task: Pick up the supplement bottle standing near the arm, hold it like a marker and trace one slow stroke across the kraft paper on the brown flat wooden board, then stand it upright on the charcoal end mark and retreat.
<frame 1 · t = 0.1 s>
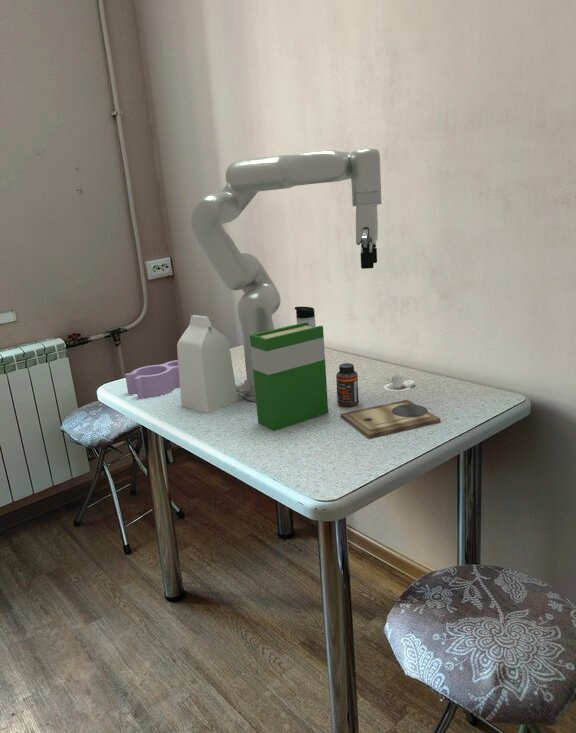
hand: (369, 265, 164), 37 cm above the table, tool pointing down, fingers open, 9 cm apart
supplement bottle: (348, 404, 171), on the table
hardback book: (293, 418, 164), on the table
teacup and saucer: (404, 391, 179), on the table
brown flat wooden board: (389, 419, 157), on the table
milk: (209, 403, 180), on the table
travel mug: (308, 364, 210), on the table
clip: (161, 389, 197), on the table
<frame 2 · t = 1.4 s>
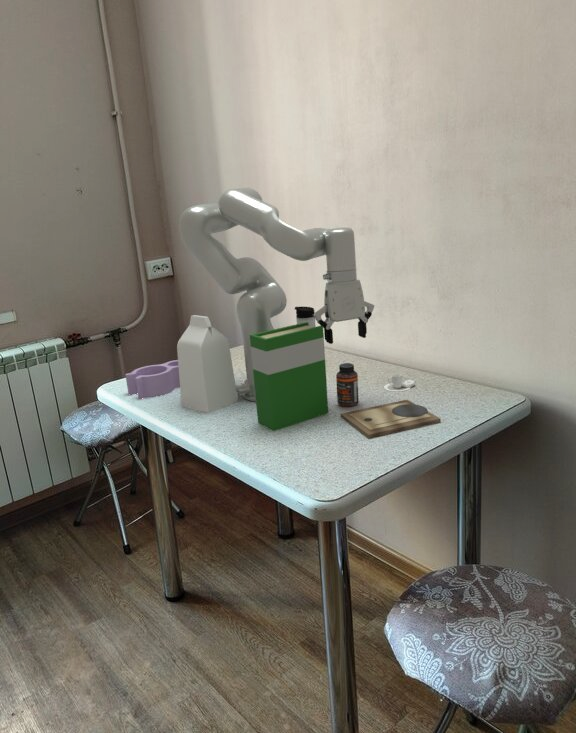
hand: (346, 339, 165), 18 cm above the table, tool pointing down, fingers open, 9 cm apart
nothing on the table moved.
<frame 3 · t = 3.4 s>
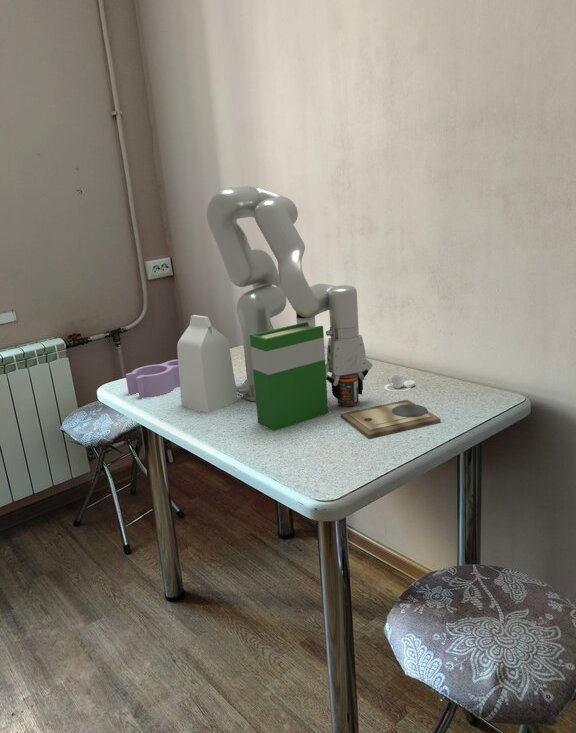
hand: (347, 394, 170), 3 cm above the table, tool pointing down, fingers closed on supplement bottle, 6 cm apart
supplement bottle: (348, 404, 171), on the table, touching gripper
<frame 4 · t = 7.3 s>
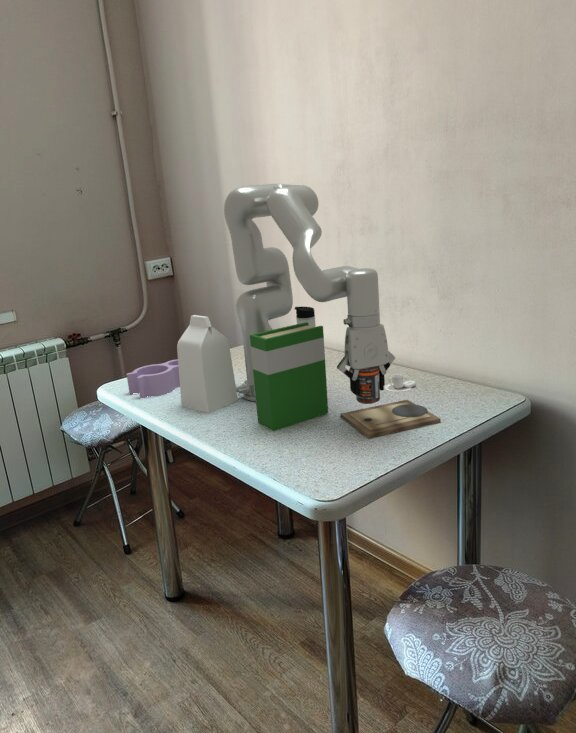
hand: (367, 390, 153), 9 cm above the table, tool pointing down, fingers closed on supplement bottle, 6 cm apart
supplement bottle: (368, 401, 154), point 6 cm above the table, touching gripper
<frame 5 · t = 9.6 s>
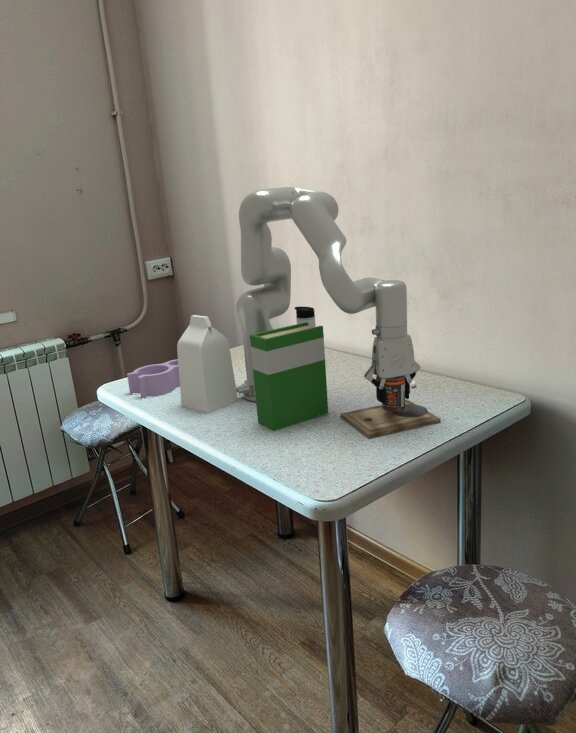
hand: (393, 399, 156), 5 cm above the table, tool pointing down, fingers closed on supplement bottle, 6 cm apart
supplement bottle: (393, 409, 157), point 2 cm above the table, touching gripper
everything else where it was.
when the fingers open (4 cm above the table, at t = 11.6 s): supplement bottle stays where it is, resting on brown flat wooden board.
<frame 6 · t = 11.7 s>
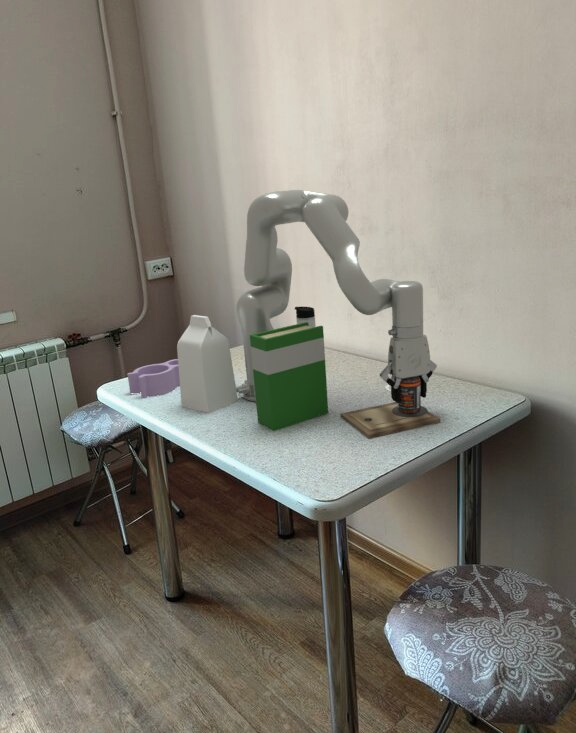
hand: (409, 398, 158), 5 cm above the table, tool pointing down, fingers open, 6 cm apart
supplement bottle: (409, 410, 159), point 1 cm above the table, touching brown flat wooden board
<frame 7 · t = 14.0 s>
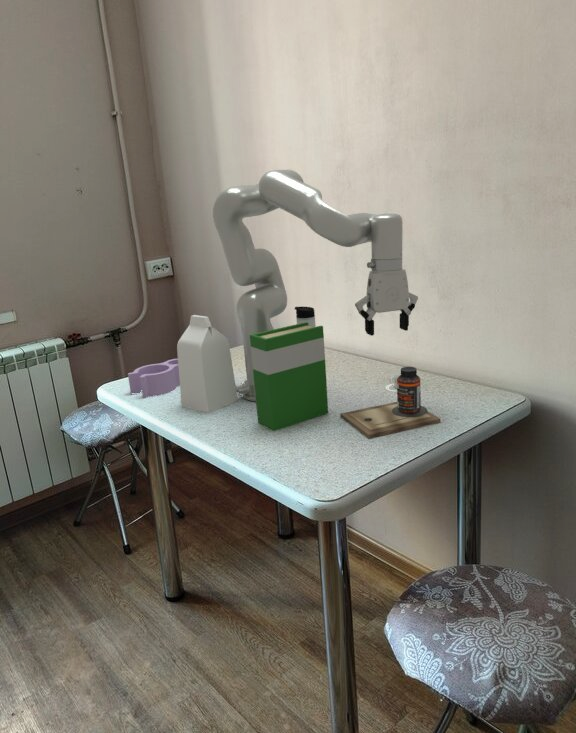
hand: (387, 331, 158), 21 cm above the table, tool pointing down, fingers open, 9 cm apart
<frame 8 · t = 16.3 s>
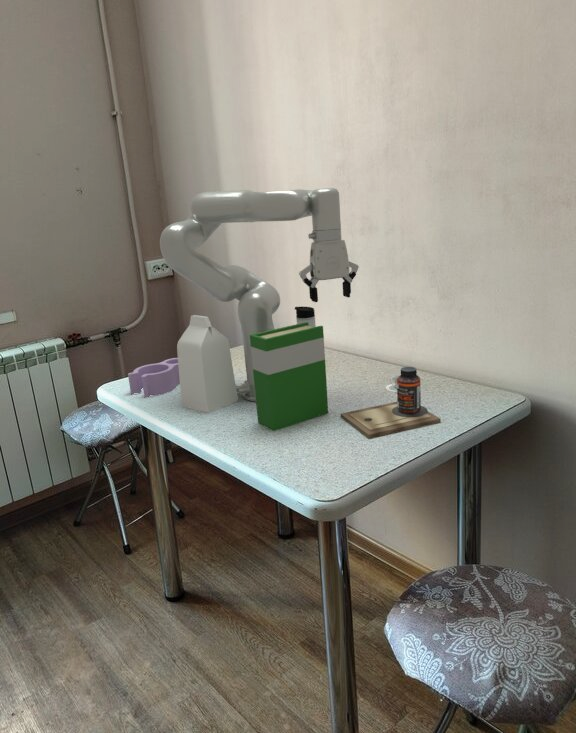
hand: (330, 299, 170), 28 cm above the table, tool pointing down, fingers open, 9 cm apart
at the end: supplement bottle 0.2 cm from the target spot on the brown flat wooden board, point 1.1 cm above the brown flat wooden board's base; supplement bottle tilted 0°; the gripper is holding nothing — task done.
